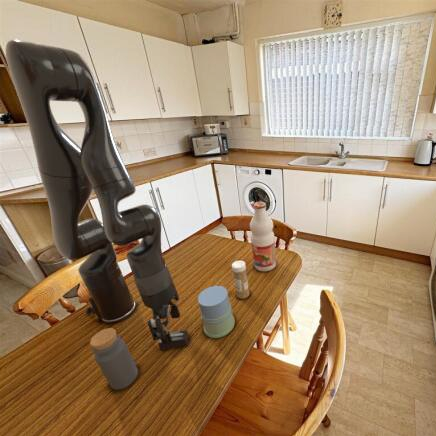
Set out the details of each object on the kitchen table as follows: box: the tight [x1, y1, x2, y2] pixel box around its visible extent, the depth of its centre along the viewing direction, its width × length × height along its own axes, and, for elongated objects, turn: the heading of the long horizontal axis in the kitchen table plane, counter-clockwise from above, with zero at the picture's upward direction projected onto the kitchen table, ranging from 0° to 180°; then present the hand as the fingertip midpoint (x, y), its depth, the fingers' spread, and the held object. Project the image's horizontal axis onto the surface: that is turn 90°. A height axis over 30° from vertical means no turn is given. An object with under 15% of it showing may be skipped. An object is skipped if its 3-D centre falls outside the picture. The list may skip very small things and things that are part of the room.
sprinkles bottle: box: [231, 260, 250, 300], centre depth 82 cm, size 5×5×13 cm
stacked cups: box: [197, 285, 236, 339], centre depth 71 cm, size 9×9×12 cm
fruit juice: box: [249, 201, 277, 272], centre depth 95 cm, size 9×9×28 cm
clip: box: [157, 329, 190, 351], centre depth 68 cm, size 7×3×3 cm, turn 99°
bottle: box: [89, 327, 139, 391], centre depth 57 cm, size 6×6×15 cm
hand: (172, 329), depth 66 cm, fingers open, 8 cm apart
